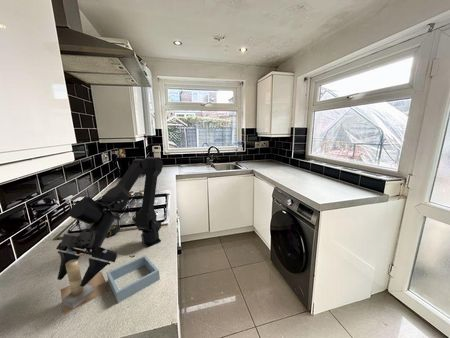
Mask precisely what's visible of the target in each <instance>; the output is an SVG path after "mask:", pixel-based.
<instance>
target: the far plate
mask: <svg viewBox="0 0 450 338" xmlns="http://www.w3.org/2000/svg"><path fill="white" fill-rule="evenodd" d="M87 285H91V286H93V291H94V292H93V293H91V294H90V295H89V296H88V297H87V298H86V299H84V300H83V301H82V302H81V303H80V304H78V305H77V306H76V307H75V308H74V309H73V308H70V307H68V306H65V305H63V300H62V299H63V298H65V297H66V296H67V295H68V294H70V293H71V288H70V284H69V285H67V286H65V287H62V288H60V294H61V304H62V311H63V315H65V314H68V313H70V312H72V311H74V310H75V309H77V308H79V307H82V306H83V305H85V304H87V303H90V302H91V301H93V300H95V299H97V298H98V297H100V296H103V295H105V294H107V293H108V292H110V288H109V286H108V284H107V281H106V279H105V277H104V274H103V272H102V271H100V272H99V273H97V274H96V275H95V276H94V277H93V278H92V279H91V280H90V281H89V282H88V283H87Z"/></svg>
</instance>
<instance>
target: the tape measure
mask: <svg viewBox="0 0 450 338" xmlns="http://www.w3.org/2000/svg"><path fill="white" fill-rule="evenodd" d="M120 230H121V226H120V225H117V224H116V225H113V224H112V226H111V228H110V230H109V232H108V233H107V234H108V235H110V236H109V237H111V236H114V235H117V233H119V231H120Z"/></svg>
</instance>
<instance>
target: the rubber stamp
mask: <svg viewBox="0 0 450 338" xmlns="http://www.w3.org/2000/svg"><path fill="white" fill-rule="evenodd" d="M65 265H66V270H67V274H66V275H67V278H68V284H69V285H70V288H71V293H70V294H68V295H67V296H66V297H65V298H63V299H62V298H61V301H62V300H63V304H62V306H63V305H65V306H68V307H70V308H73V310H75V309H76V308H75V307H76V306H77V305H78V304H80V303H81V302H82V301H83V300H84V299H86V298H87V297H88V296H89V295H90V294H91V293H93V292H94V291H93V286H91V285H87V284H86V285H85V286H84V287H81V286H80V285H81V282H82V279H83V278H82V274H81V269H80V265H79V259H78V260H77V259H74V260H71V261H69V262H67V263H66V264H65ZM74 308H75V309H74Z"/></svg>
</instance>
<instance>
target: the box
mask: <svg viewBox="0 0 450 338" xmlns="http://www.w3.org/2000/svg"><path fill="white" fill-rule="evenodd" d="M144 266H145V267H146V268H147V270H149V272H150V273H148V274H146V275H145V276H143V277H141V278H139V279H136V280H135V281H133V282H131V283H129V284H127V285H125V286H123V287H121V288H120V289H119V288H118V285H117V283H116V282H115V280H117V279H120V278H122V277H123V276H126V275H128V274H129V273H132V272H133V271H136V270H137V269H139V268H141V267H144ZM106 276H107V282H108V284H109V286H110V289H111V291H112V293H113V295H114V298H115V300H116V301H117V304H119V303H121V302H122V301H125V300H126V299H128V298H131V297H132V296H134V295H135V294H137V293H139V292H140V291H142V290H143V289H146V288H147V287H149V286H150V285H152V284H155V283H157V282H158V281H160V280H161V279H160V270H159V269H158V267H157V266H156V265H155V264H154V263H153V262H152V260H151V259H149V258H148V256H147V255H146V254H144V255H142V256H140V257H138V258H135V259H134V260H131V261H129V262H127V263H125V264H122V265H119V266H118V267H115V268H113V269H111V270H109V271H107V272H106Z"/></svg>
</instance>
